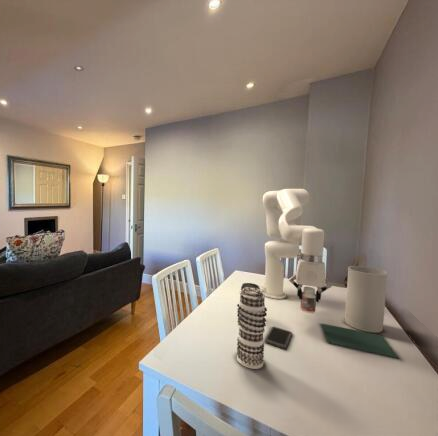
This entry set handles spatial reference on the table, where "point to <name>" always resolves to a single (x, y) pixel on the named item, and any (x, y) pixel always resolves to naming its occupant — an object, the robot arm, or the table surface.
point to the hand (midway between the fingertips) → (308, 299)
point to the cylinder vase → (365, 298)
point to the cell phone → (278, 337)
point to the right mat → (358, 340)
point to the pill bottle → (308, 300)
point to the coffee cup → (249, 285)
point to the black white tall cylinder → (251, 327)
